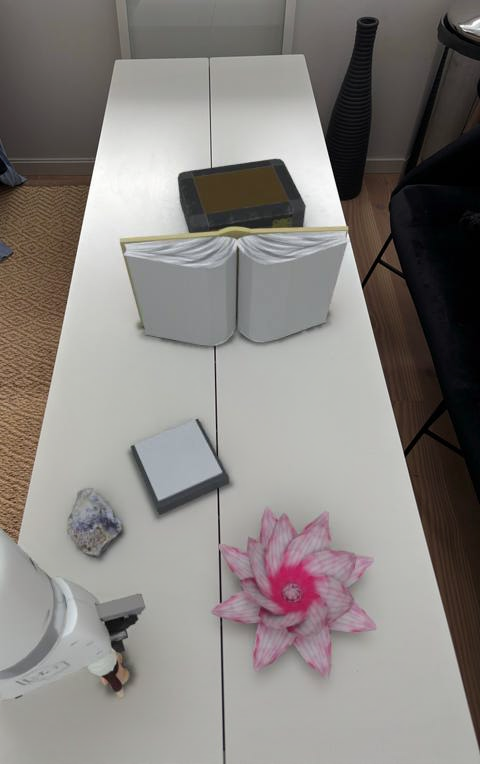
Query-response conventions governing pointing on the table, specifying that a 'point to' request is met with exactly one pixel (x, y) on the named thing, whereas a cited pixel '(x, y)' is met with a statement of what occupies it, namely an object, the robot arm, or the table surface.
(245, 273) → the book
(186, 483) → the scale
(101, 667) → the grandmother figurine
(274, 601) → the decorative flower
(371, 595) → the table surface
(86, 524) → the mineral specimen
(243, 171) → the cash box
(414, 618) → the table surface
